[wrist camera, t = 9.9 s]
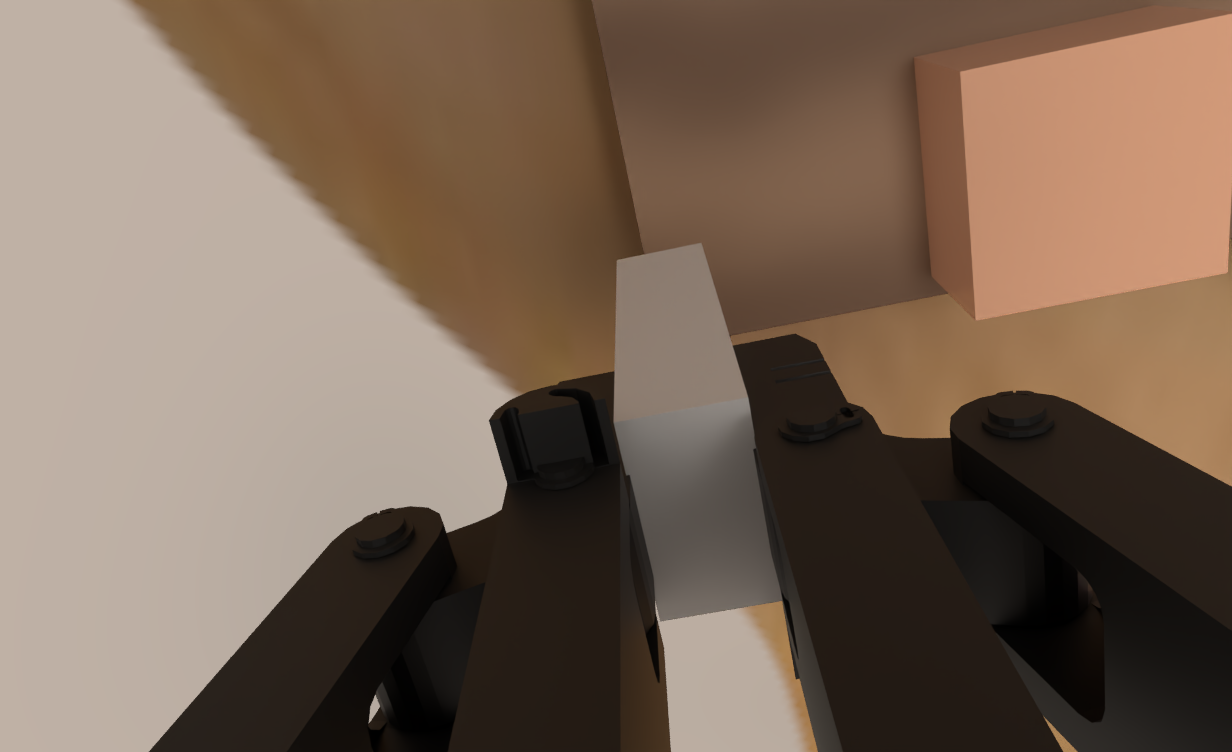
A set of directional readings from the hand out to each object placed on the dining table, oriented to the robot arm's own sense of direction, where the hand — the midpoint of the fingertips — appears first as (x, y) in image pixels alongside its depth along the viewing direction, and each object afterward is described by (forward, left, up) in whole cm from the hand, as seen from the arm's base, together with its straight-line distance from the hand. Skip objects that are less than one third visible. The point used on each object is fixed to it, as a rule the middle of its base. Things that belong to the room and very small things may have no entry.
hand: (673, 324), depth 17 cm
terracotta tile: (0, +9, -6) cm, 10 cm away
